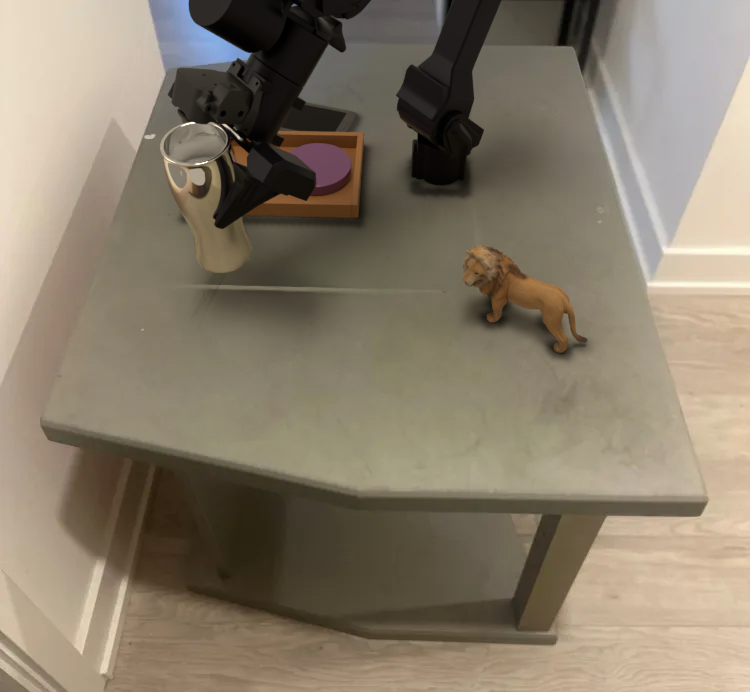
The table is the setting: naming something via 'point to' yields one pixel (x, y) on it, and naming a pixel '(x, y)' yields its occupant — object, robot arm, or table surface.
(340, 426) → the table surface
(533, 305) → the lion figurine
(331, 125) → the cell phone
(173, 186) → the beer glass
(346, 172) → the plum disc
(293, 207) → the tray
